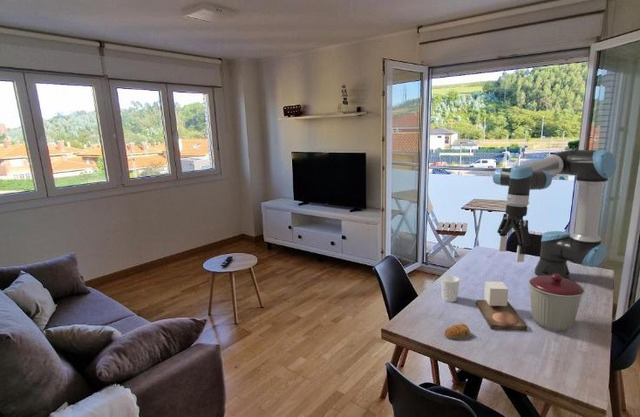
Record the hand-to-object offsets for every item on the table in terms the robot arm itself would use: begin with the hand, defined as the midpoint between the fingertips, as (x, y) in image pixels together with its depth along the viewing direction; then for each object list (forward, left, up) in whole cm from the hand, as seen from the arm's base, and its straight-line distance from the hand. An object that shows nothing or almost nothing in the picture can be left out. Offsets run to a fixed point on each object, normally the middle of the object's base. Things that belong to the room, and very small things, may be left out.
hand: (510, 256), depth 146 cm
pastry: (+24, +19, -25) cm, 40 cm away
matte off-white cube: (+4, -2, -21) cm, 22 cm away
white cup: (+21, -11, -25) cm, 34 cm away
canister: (-14, +9, -25) cm, 30 cm away
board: (+4, +4, -25) cm, 25 cm away
